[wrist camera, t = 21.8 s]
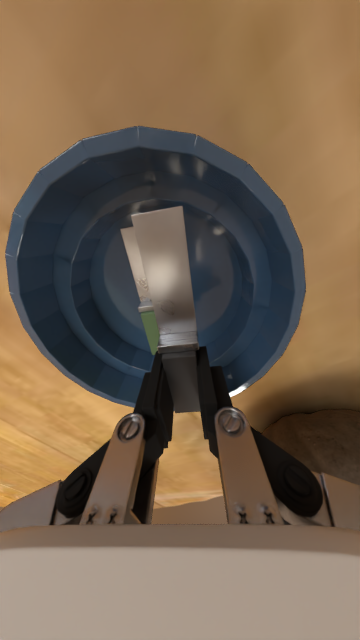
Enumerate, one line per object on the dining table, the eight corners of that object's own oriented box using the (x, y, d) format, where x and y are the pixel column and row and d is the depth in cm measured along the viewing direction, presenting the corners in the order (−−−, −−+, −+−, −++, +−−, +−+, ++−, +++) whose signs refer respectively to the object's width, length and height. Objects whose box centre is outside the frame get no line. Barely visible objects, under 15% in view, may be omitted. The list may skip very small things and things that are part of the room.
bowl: (33, 201, 12) (-82, 176, 7) (269, 153, 11) (353, 72, 5) (111, 369, 20) (85, 417, 15) (254, 355, 19) (281, 403, 13)
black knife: (203, 387, 12) (206, 411, 10) (173, 390, 12) (172, 413, 10) (182, 206, 7) (181, 197, 5) (132, 215, 7) (116, 209, 5)
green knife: (173, 342, 17) (172, 353, 16) (153, 344, 17) (149, 355, 16) (148, 223, 12) (143, 222, 11) (121, 229, 12) (111, 228, 11)
